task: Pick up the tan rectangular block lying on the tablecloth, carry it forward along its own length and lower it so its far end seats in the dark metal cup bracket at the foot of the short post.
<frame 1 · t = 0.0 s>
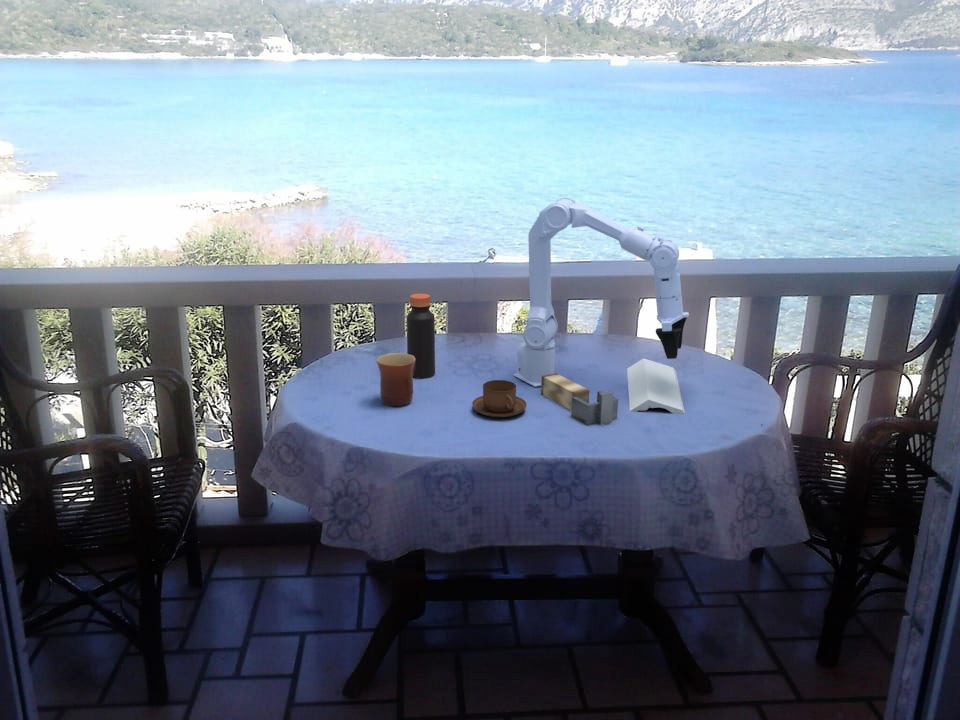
hand: (674, 353, 203), 11 cm above the table, tool pointing down, fingers open, 7 cm apart
bottle: (421, 375, 219), on the table
bracket: (592, 416, 194), on the table
tan rectangular block: (564, 401, 203), on the table
cup and saucer: (499, 412, 197), on the table
mug: (400, 400, 203), on the table
crown molding: (653, 393, 211), on the table
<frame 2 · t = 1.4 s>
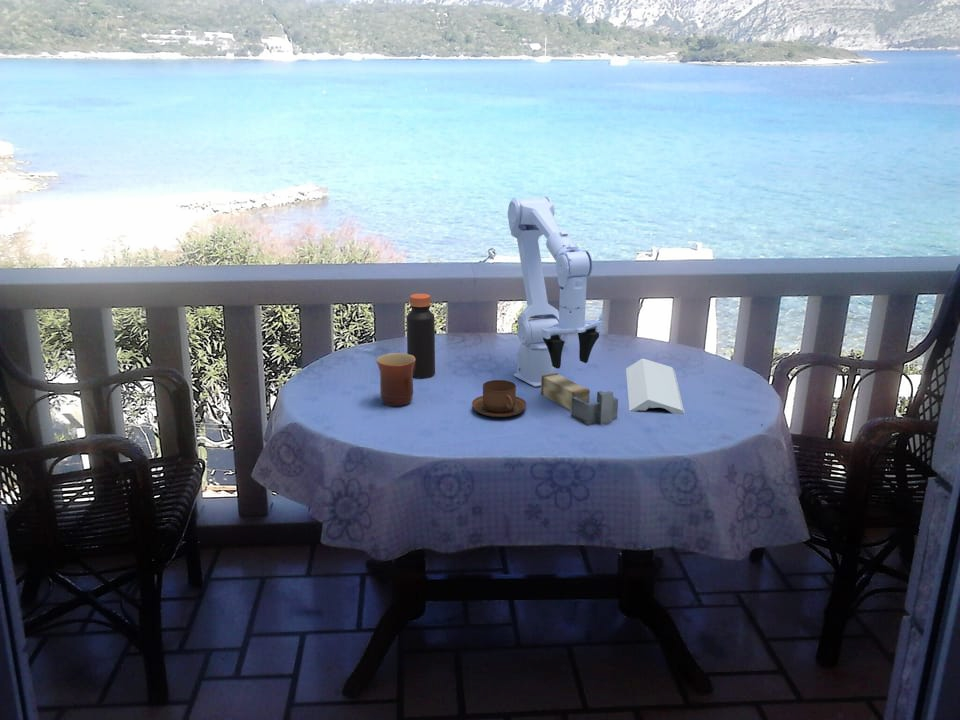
hand: (569, 364, 198), 9 cm above the table, tool pointing down, fingers open, 7 cm apart
nothing on the table moved.
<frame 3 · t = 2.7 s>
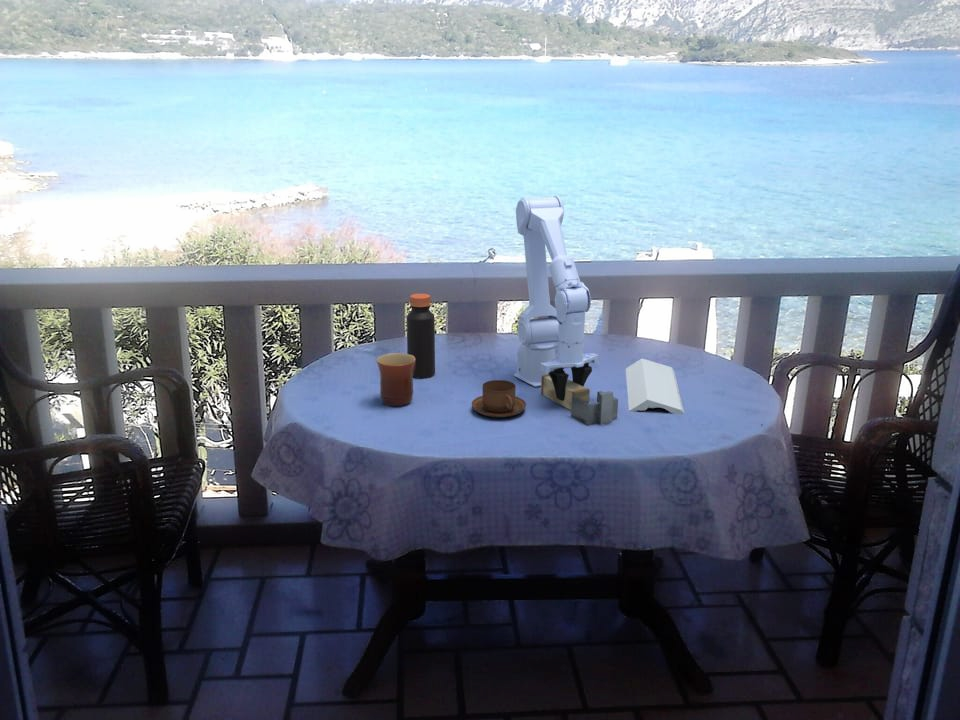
hand: (568, 397, 201), 1 cm above the table, tool pointing down, fingers closed on tan rectangular block, 4 cm apart
tan rectangular block: (564, 401, 203), on the table, touching gripper
everything else where it was.
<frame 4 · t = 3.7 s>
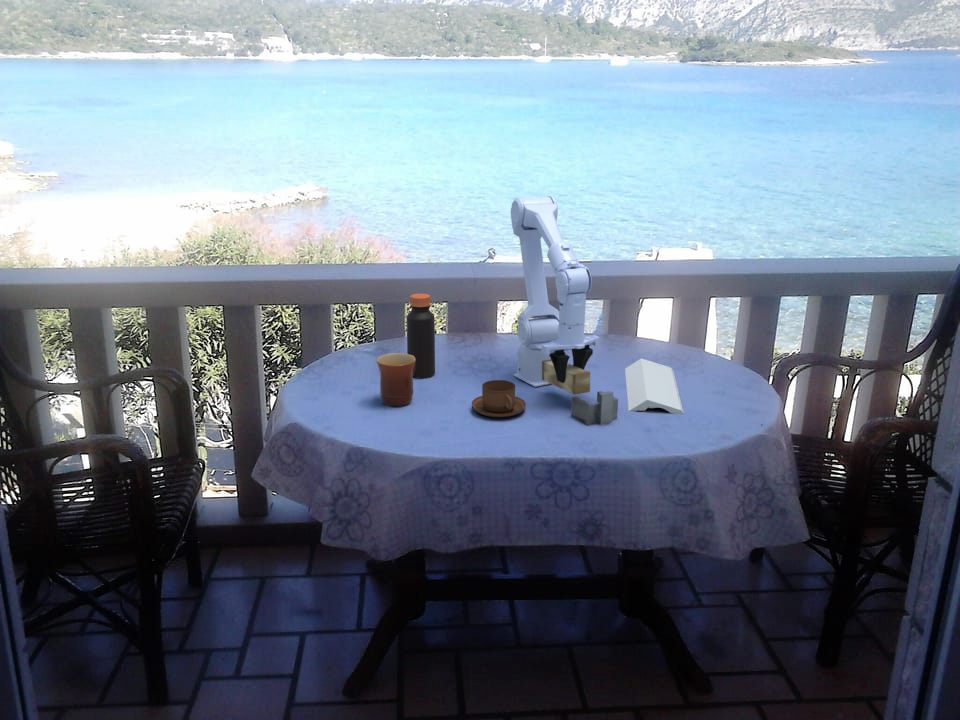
hand: (569, 379, 200), 6 cm above the table, tool pointing down, fingers closed on tan rectangular block, 4 cm apart
tan rectangular block: (565, 385, 201), point 4 cm above the table, touching gripper
everything else where it was.
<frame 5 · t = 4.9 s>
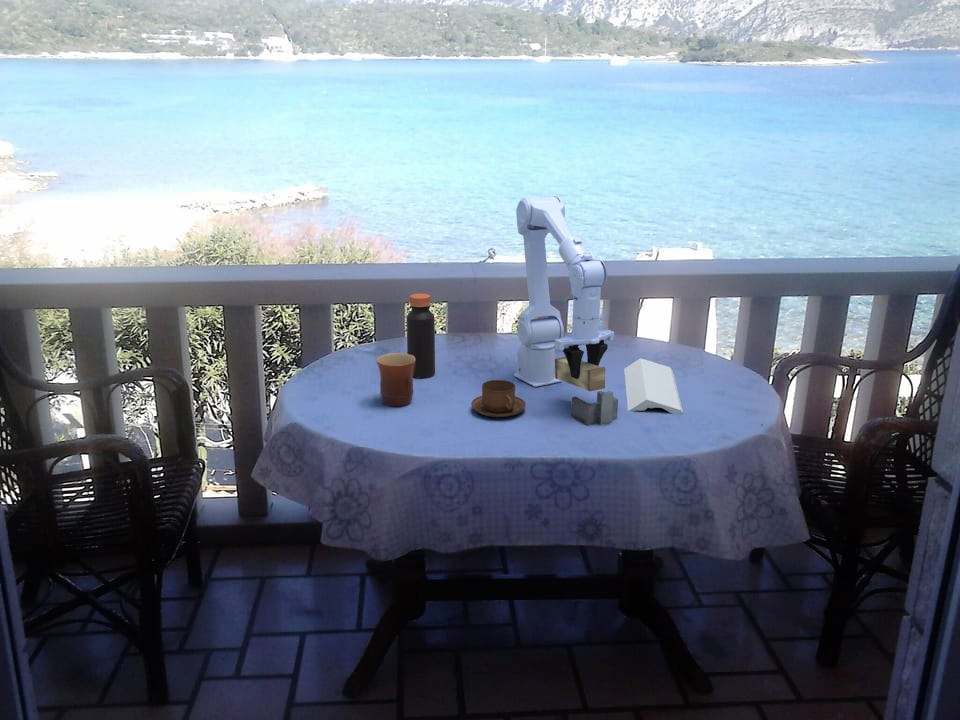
hand: (583, 375, 195), 8 cm above the table, tool pointing down, fingers closed on tan rectangular block, 4 cm apart
tan rectangular block: (579, 383, 196), point 6 cm above the table, touching gripper
everything else where it was.
when the fingers open (3 cm above the table, at t = 6.1 s): tan rectangular block stays where it is, resting on bracket.
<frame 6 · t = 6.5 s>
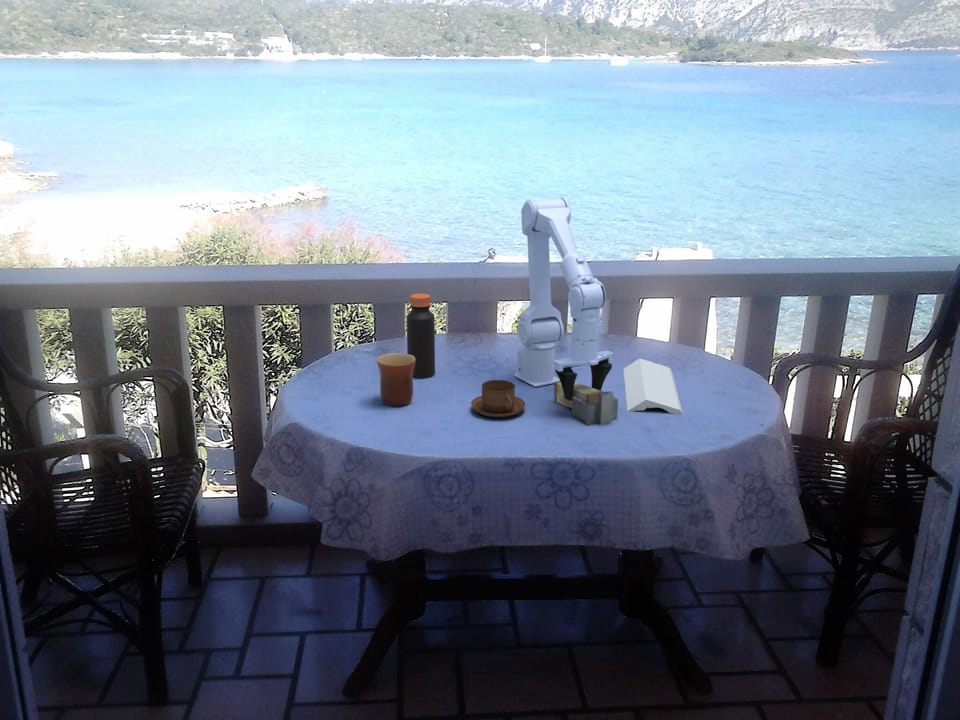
hand: (582, 396, 196), 3 cm above the table, tool pointing down, fingers open, 7 cm apart
tan rectangular block: (578, 406, 198), point 1 cm above the table, tilted 5°, touching bracket
everything else where it was.
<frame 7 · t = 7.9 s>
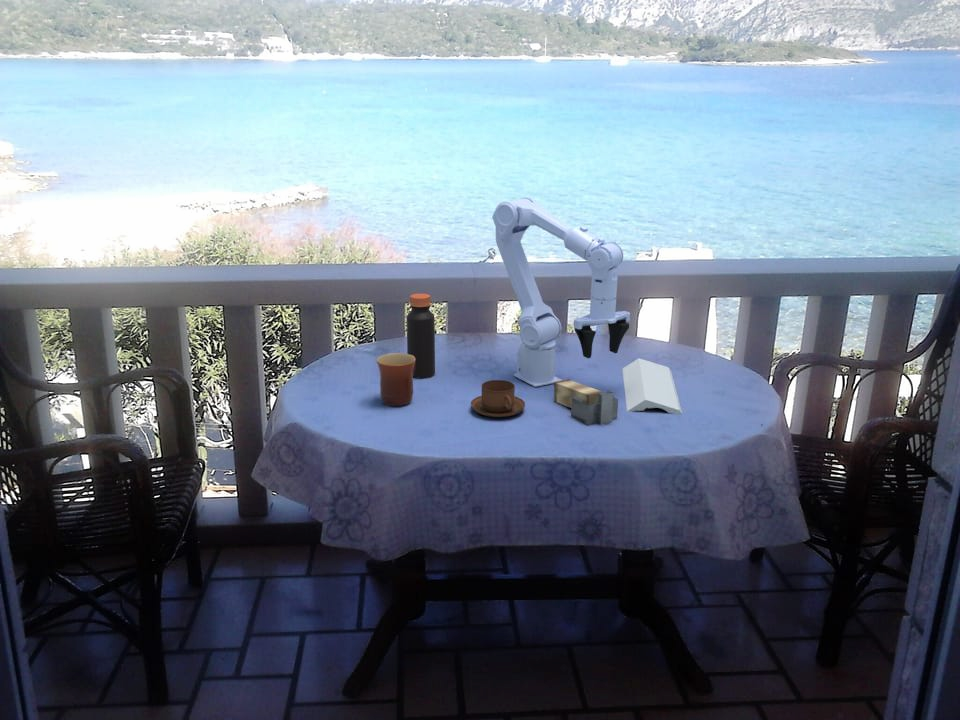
hand: (600, 354, 204), 10 cm above the table, tool pointing down, fingers open, 7 cm apart
nothing on the table moved.
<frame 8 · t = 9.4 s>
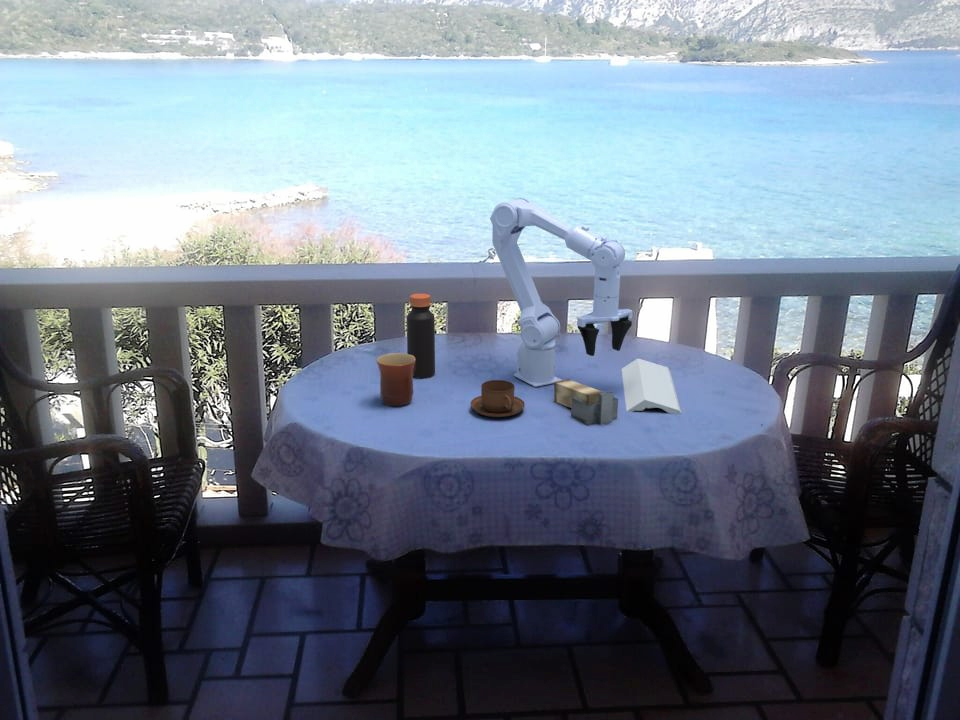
hand: (603, 352, 205), 10 cm above the table, tool pointing down, fingers open, 7 cm apart
at the end: tan rectangular block 0.4 cm from the target spot on the bracket, point 0.6 cm above the bracket's base; tan rectangular block touching bracket, table; tan rectangular block tilted 5° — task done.
